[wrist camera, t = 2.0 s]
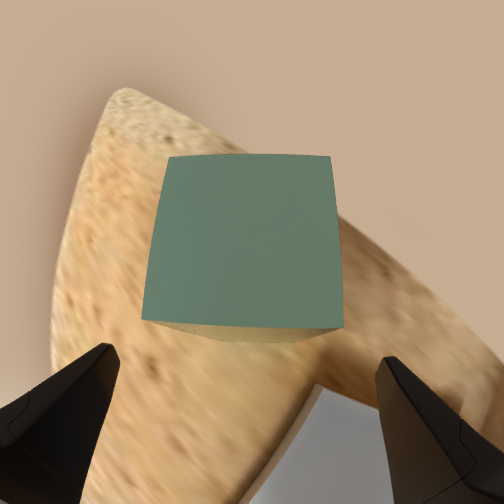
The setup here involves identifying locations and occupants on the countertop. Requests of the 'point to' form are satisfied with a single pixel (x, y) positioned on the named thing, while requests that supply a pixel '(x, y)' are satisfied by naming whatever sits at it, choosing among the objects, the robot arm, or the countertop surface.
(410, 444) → the robot arm
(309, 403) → the tray
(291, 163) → the tea tin
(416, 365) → the countertop surface
